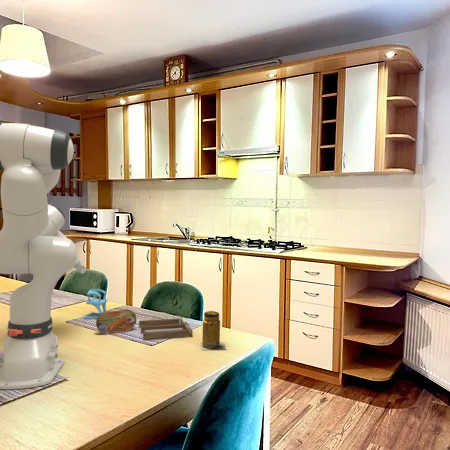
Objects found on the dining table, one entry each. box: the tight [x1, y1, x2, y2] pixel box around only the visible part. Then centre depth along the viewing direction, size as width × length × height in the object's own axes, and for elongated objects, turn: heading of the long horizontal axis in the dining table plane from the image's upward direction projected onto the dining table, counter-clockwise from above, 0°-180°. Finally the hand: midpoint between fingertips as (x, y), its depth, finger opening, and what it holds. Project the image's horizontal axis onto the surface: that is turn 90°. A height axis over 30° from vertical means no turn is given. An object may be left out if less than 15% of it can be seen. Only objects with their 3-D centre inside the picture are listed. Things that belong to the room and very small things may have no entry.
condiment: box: [200, 310, 227, 351], centre depth 147 cm, size 7×8×12 cm
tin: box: [95, 308, 137, 335], centre depth 160 cm, size 15×3×8 cm, turn 121°
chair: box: [83, 288, 108, 320], centre depth 177 cm, size 8×8×12 cm
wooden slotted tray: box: [138, 317, 194, 341], centre depth 162 cm, size 16×18×3 cm
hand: (84, 271), depth 155 cm, fingers closed
